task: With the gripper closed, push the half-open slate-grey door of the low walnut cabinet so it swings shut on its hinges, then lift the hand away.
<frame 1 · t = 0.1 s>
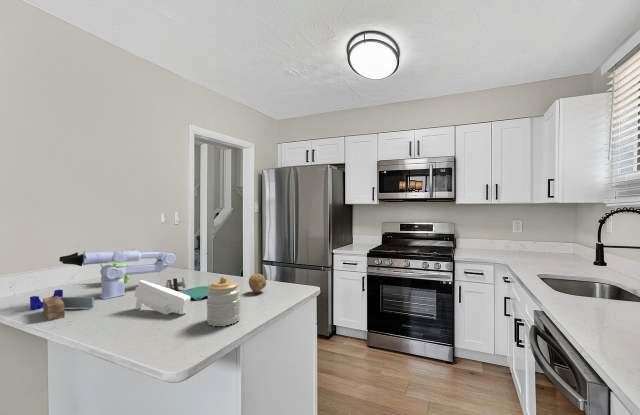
hand: (61, 260, 140), 22 cm above the worktop, fingers open, 7 cm apart
natural sponge: (257, 293, 157), on the worktop
door: (77, 302, 137), point 3 cm above the worktop, hinge at 40.0°
bike brake: (166, 291, 164), on the worktop
teal cloth: (208, 293, 160), on the worktop
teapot: (114, 283, 181), on the worktop
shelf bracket: (161, 312, 131), on the worktop
cable clip: (46, 306, 142), on the worktop
jar: (224, 321, 119), on the worktop
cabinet: (53, 314, 129), on the worktop
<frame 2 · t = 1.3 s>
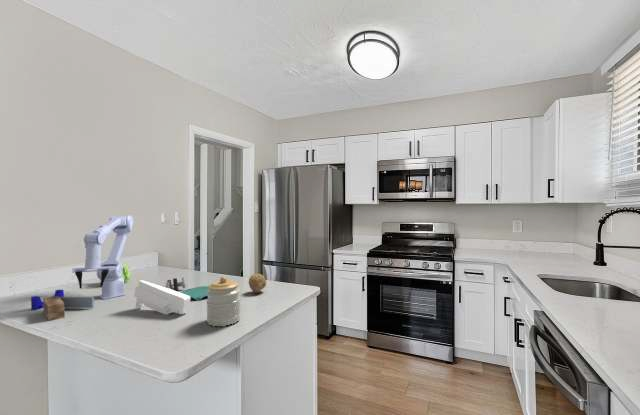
hand: (91, 287, 139), 9 cm above the worktop, fingers open, 7 cm apart
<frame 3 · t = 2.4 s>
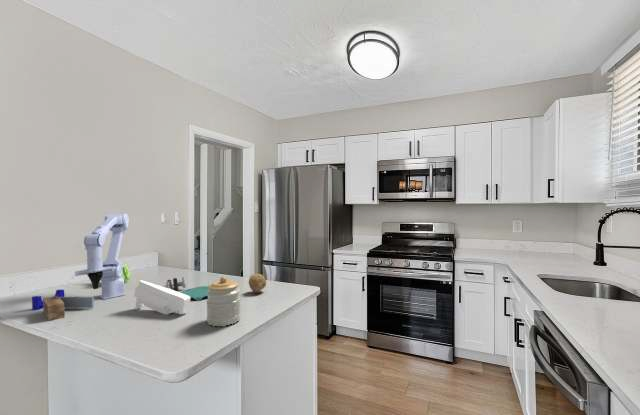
hand: (95, 288, 141), 8 cm above the worktop, fingers closed
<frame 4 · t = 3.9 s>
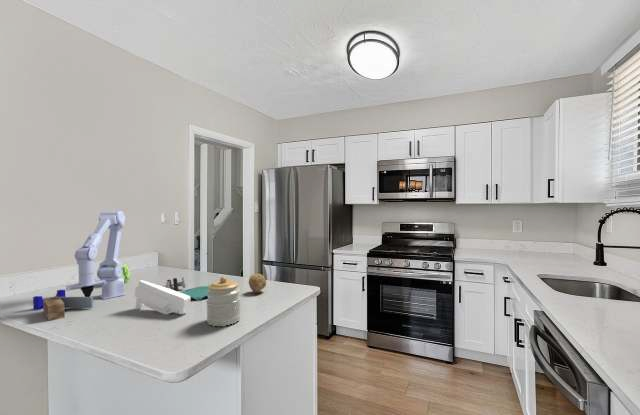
hand: (87, 302, 138), 2 cm above the worktop, fingers closed
door: (76, 302, 137), point 3 cm above the worktop, hinge at 38.5°, touching gripper
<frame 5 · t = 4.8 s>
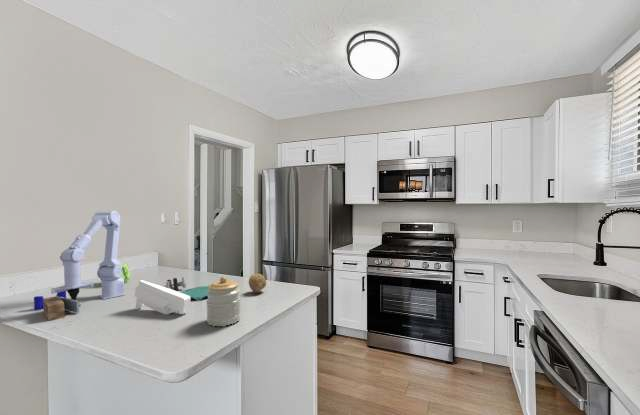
hand: (73, 305, 134), 2 cm above the worktop, fingers closed
door: (69, 304, 134), point 3 cm above the worktop, hinge at 14.6°, touching gripper
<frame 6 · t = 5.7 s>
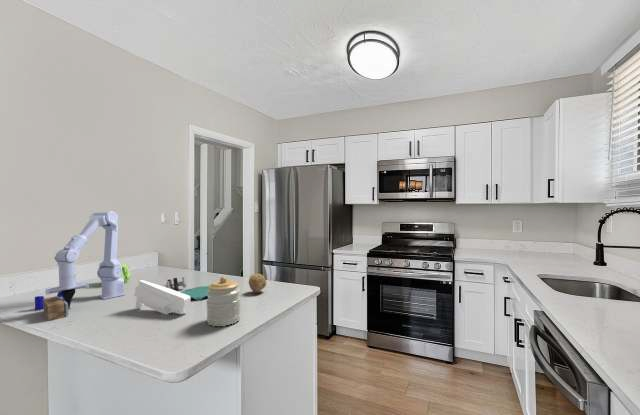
hand: (68, 306, 133), 2 cm above the worktop, fingers closed
door: (64, 305, 132), point 3 cm above the worktop, hinge at -0.1°, touching gripper
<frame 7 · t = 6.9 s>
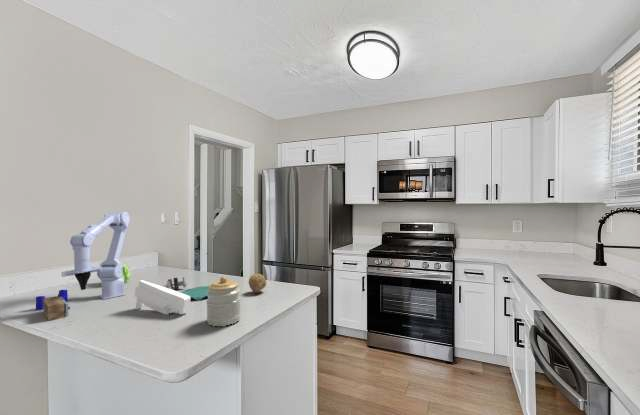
hand: (83, 289, 137), 8 cm above the worktop, fingers closed
door: (64, 305, 132), point 3 cm above the worktop, hinge at -0.1°
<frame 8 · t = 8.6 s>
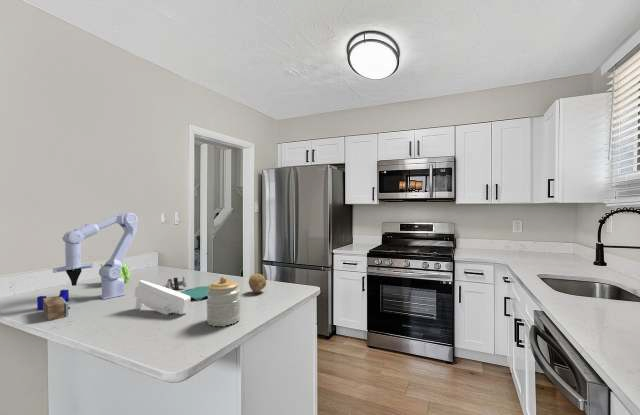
hand: (74, 285, 141), 9 cm above the worktop, fingers closed
at the end: door at +0° (first picture: +40°) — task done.
